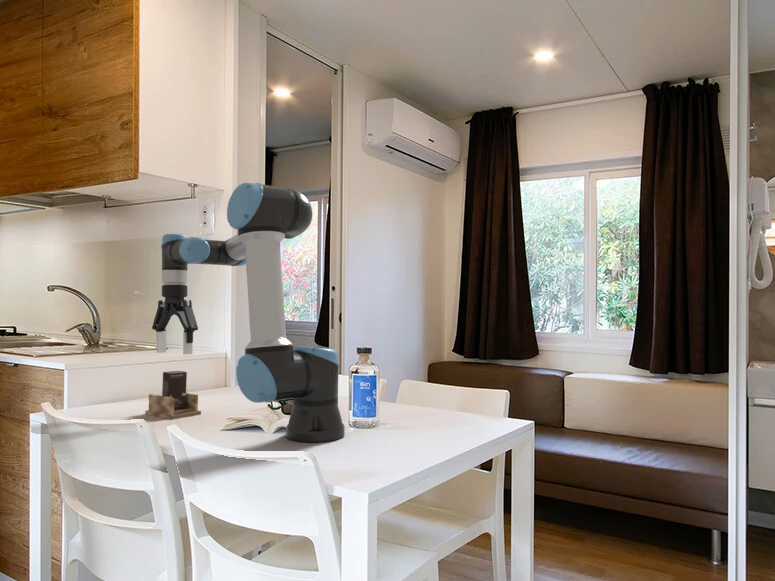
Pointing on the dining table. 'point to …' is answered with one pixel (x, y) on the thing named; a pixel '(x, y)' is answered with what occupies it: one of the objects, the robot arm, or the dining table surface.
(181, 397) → the box
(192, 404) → the holder
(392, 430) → the dining table surface
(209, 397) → the dining table surface
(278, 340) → the robot arm
